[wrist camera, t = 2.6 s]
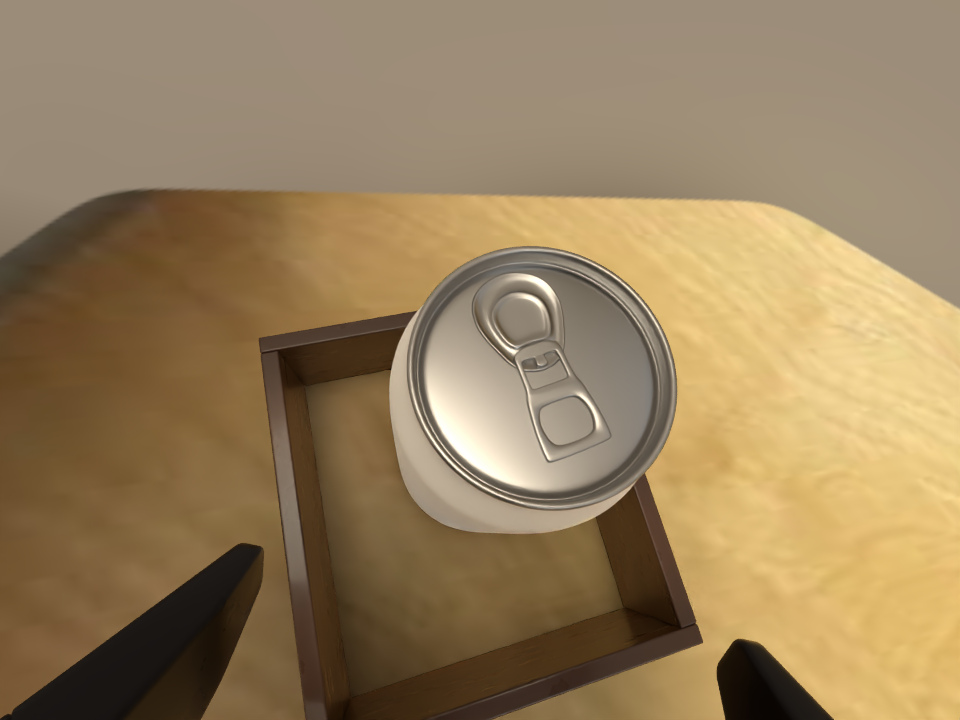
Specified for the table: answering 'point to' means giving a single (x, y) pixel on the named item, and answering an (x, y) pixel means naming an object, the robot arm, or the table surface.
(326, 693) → the tray
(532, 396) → the can
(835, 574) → the table surface
